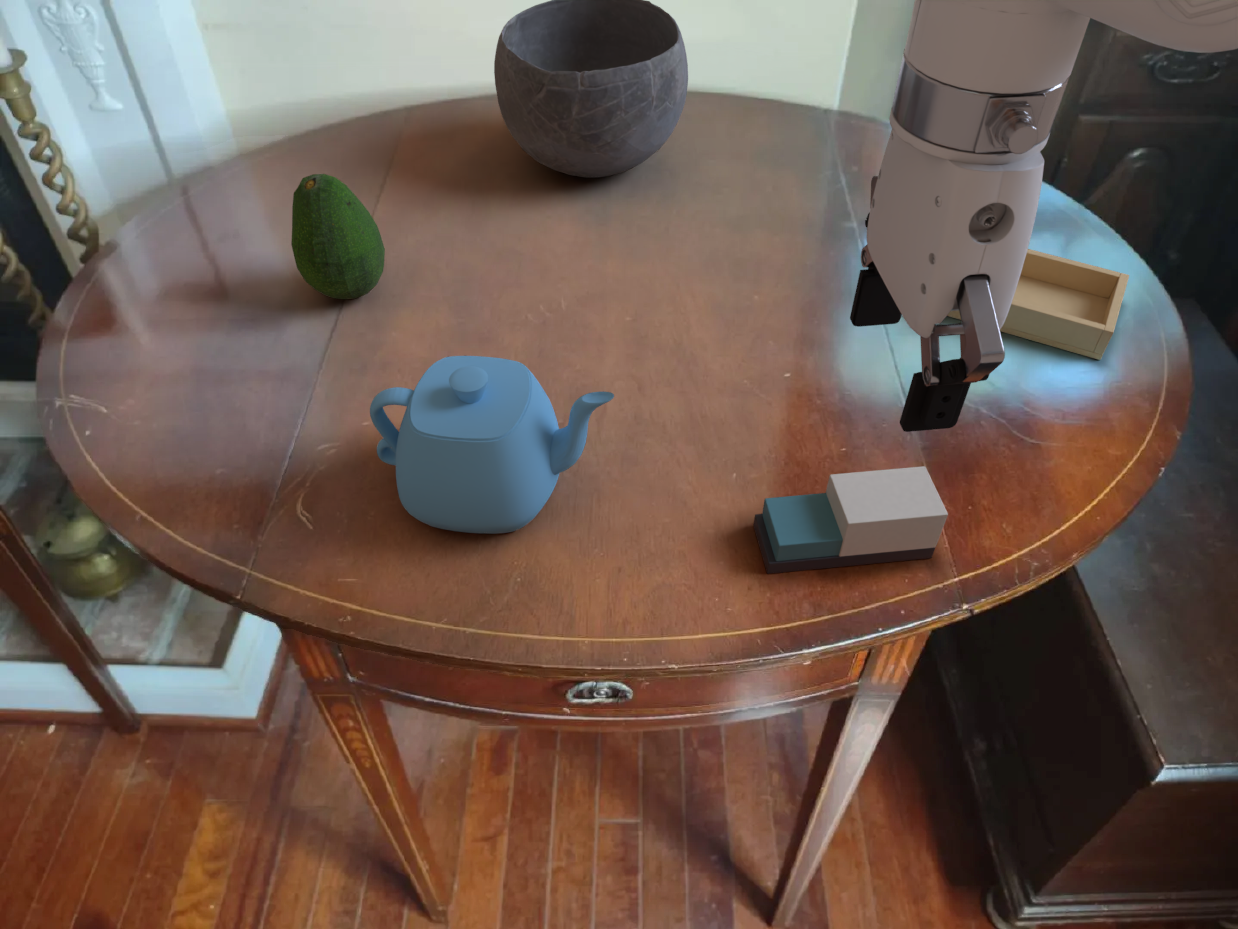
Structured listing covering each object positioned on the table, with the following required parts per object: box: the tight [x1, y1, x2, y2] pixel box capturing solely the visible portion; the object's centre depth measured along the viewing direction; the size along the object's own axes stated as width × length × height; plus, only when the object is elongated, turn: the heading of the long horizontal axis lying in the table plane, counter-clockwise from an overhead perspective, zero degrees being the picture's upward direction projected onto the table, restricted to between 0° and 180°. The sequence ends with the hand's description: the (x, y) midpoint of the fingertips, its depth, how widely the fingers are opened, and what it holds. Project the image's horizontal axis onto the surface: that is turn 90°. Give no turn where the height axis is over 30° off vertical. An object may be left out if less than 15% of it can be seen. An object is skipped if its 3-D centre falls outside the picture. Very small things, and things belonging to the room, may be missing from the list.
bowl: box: [493, 0, 689, 178], centre depth 102 cm, size 20×20×15 cm
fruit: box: [290, 173, 386, 300], centre depth 85 cm, size 8×8×12 cm
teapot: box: [369, 355, 615, 535], centre depth 69 cm, size 13×11×18 cm
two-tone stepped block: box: [752, 465, 949, 575], centre depth 67 cm, size 12×5×5 cm, turn 97°
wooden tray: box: [946, 248, 1130, 361], centre depth 87 cm, size 19×10×3 cm, turn 62°
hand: (898, 371), depth 57 cm, fingers open, 9 cm apart
